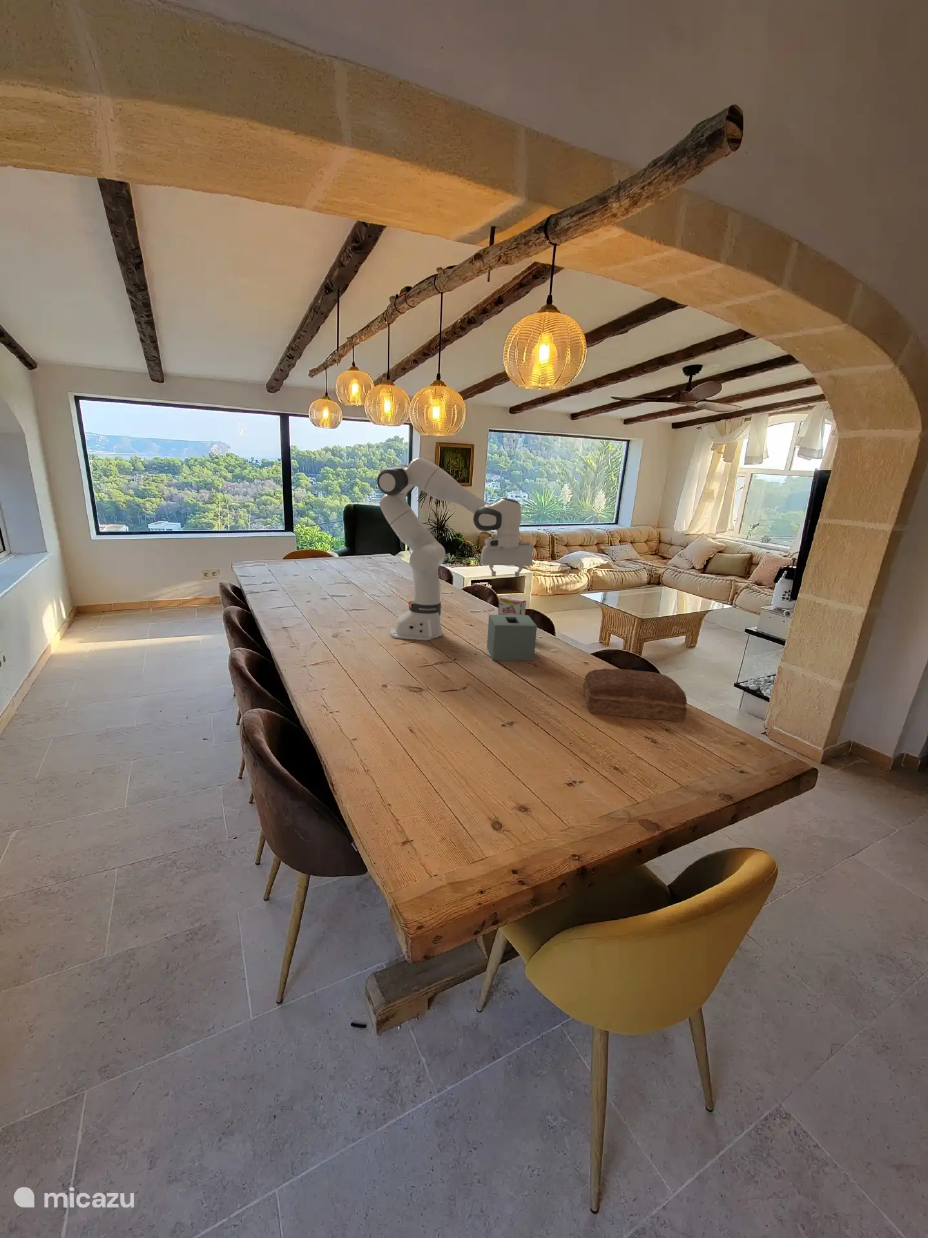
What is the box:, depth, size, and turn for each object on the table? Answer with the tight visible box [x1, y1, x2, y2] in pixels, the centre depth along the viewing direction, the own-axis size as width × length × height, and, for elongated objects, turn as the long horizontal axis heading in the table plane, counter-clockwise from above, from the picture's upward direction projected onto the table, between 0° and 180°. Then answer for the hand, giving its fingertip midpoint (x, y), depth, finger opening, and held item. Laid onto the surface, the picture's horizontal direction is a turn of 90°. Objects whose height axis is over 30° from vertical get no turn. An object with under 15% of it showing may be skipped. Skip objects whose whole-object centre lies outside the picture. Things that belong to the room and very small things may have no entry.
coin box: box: [486, 614, 538, 661], centre depth 192 cm, size 16×14×14 cm
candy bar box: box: [497, 595, 527, 615], centre depth 215 cm, size 11×5×16 cm, turn 58°
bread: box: [582, 668, 688, 723], centre depth 153 cm, size 17×29×11 cm, turn 83°
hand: (505, 576), depth 194 cm, fingers open, 8 cm apart
